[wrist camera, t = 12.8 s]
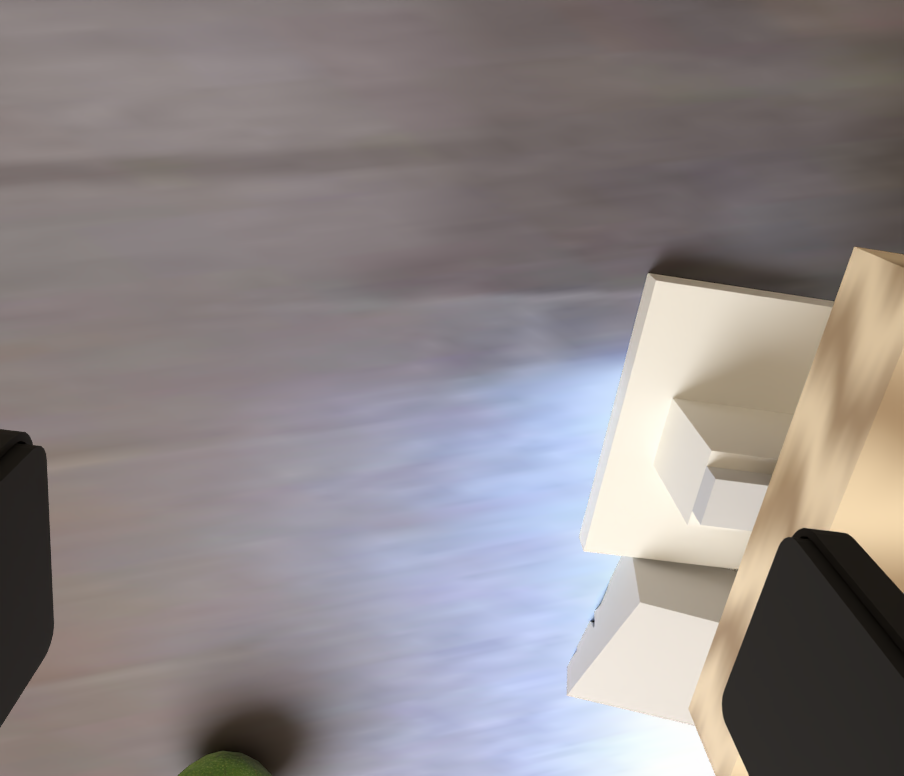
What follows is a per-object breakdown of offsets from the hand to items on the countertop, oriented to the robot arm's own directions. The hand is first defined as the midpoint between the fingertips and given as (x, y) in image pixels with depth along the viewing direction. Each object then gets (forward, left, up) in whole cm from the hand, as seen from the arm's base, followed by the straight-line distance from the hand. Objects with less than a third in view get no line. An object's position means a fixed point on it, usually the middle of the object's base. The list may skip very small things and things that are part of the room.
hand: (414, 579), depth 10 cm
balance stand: (+10, +19, -30) cm, 37 cm away
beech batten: (+10, +19, -22) cm, 30 cm away
